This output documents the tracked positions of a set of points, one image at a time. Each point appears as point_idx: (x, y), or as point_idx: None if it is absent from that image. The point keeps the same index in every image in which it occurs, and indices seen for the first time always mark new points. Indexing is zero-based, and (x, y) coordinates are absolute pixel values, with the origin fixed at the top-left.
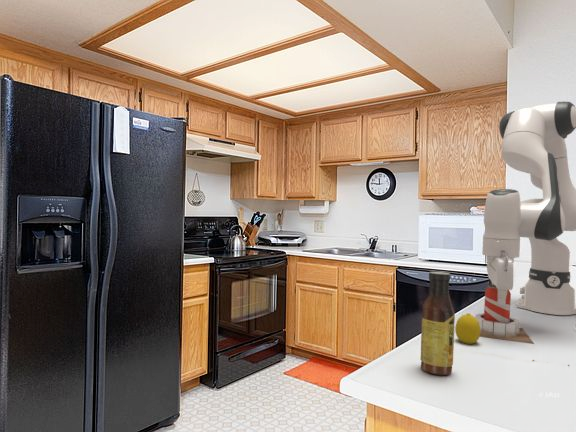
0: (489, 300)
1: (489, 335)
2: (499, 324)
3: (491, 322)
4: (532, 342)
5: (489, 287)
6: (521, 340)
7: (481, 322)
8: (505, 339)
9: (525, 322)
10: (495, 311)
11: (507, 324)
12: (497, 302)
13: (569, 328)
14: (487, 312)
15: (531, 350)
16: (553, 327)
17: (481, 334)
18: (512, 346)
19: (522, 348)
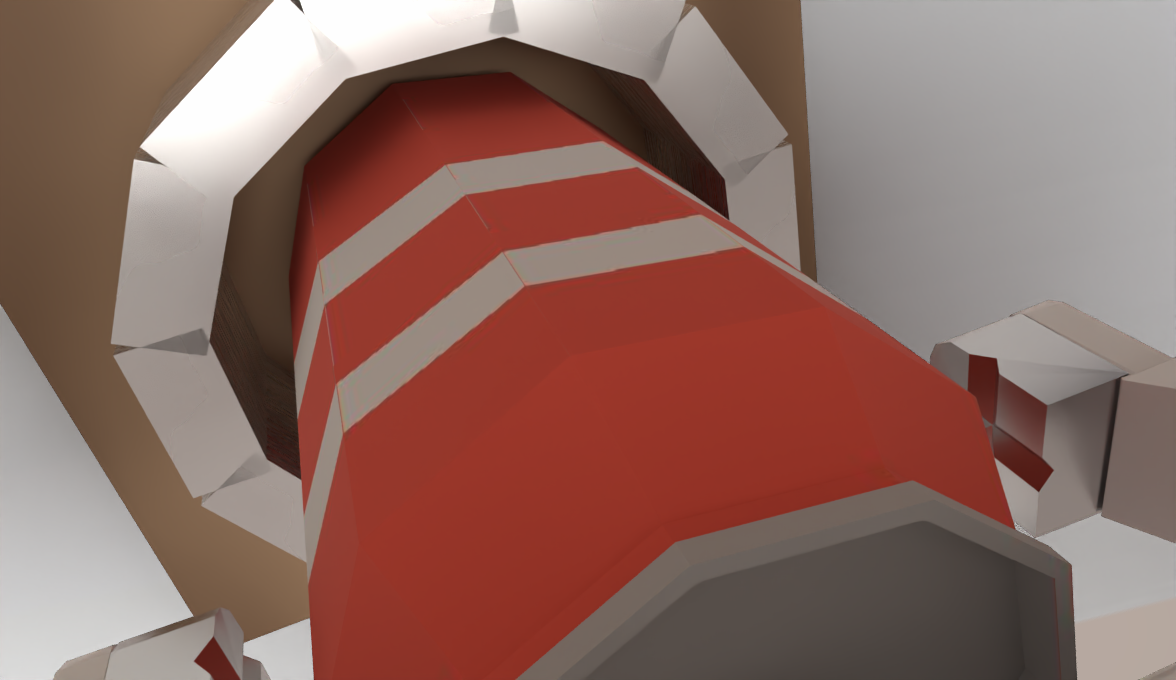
0: (343, 410)
1: (119, 213)
2: (158, 417)
3: (118, 310)
4: (259, 628)
5: (586, 619)
6: (242, 542)
7: (168, 110)
8: (96, 418)
9: (1164, 344)
10: (302, 419)
11: (226, 511)
12: (106, 660)
13: (1094, 609)
14: (343, 239)
15: (84, 629)
16: (1079, 535)
17: (58, 102)
18: (52, 473)
19: (74, 559)
